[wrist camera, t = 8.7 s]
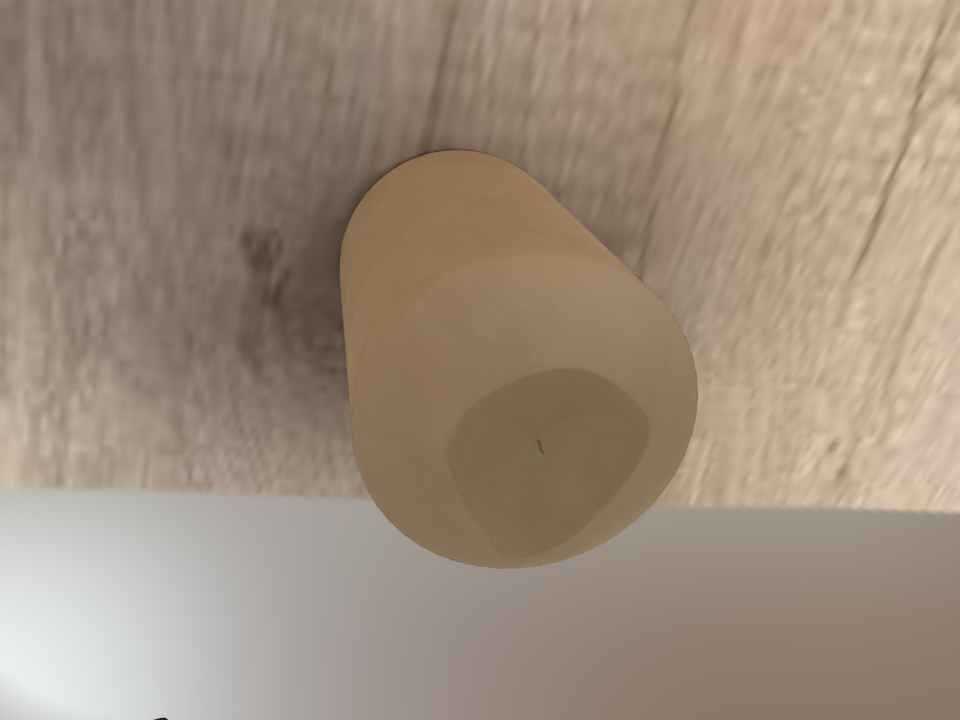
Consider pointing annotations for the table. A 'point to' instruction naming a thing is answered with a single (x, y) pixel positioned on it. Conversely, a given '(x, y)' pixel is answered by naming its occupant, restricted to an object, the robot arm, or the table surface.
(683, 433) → the candle
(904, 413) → the table surface
